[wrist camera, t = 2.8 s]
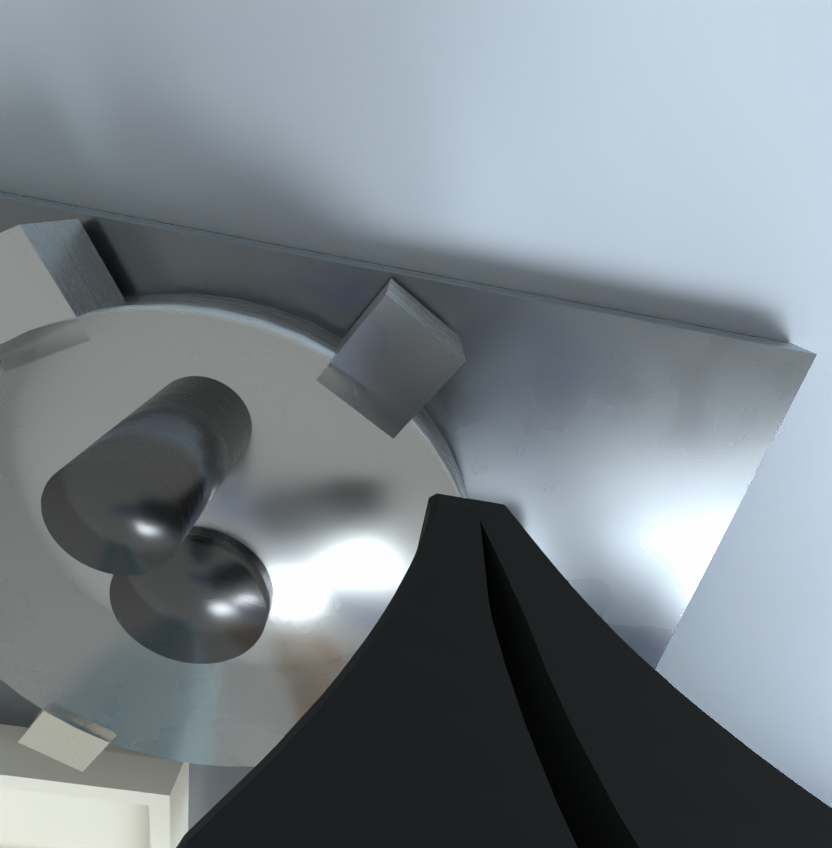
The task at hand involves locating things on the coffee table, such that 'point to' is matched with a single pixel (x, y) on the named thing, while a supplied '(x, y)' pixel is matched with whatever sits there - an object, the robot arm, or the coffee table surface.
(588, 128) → the coffee table surface
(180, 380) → the sprocket
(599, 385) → the plate
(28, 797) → the white shallow tray
